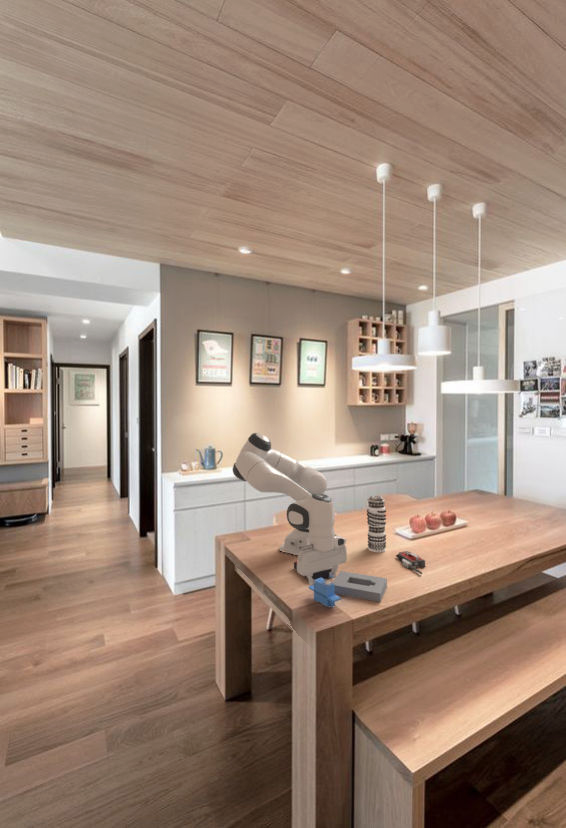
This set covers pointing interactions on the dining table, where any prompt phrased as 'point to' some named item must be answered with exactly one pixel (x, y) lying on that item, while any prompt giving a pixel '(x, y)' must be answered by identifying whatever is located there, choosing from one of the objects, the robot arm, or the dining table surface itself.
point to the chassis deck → (360, 586)
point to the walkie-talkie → (411, 560)
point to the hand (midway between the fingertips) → (322, 581)
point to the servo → (324, 592)
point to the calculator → (318, 573)
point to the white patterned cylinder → (376, 524)
